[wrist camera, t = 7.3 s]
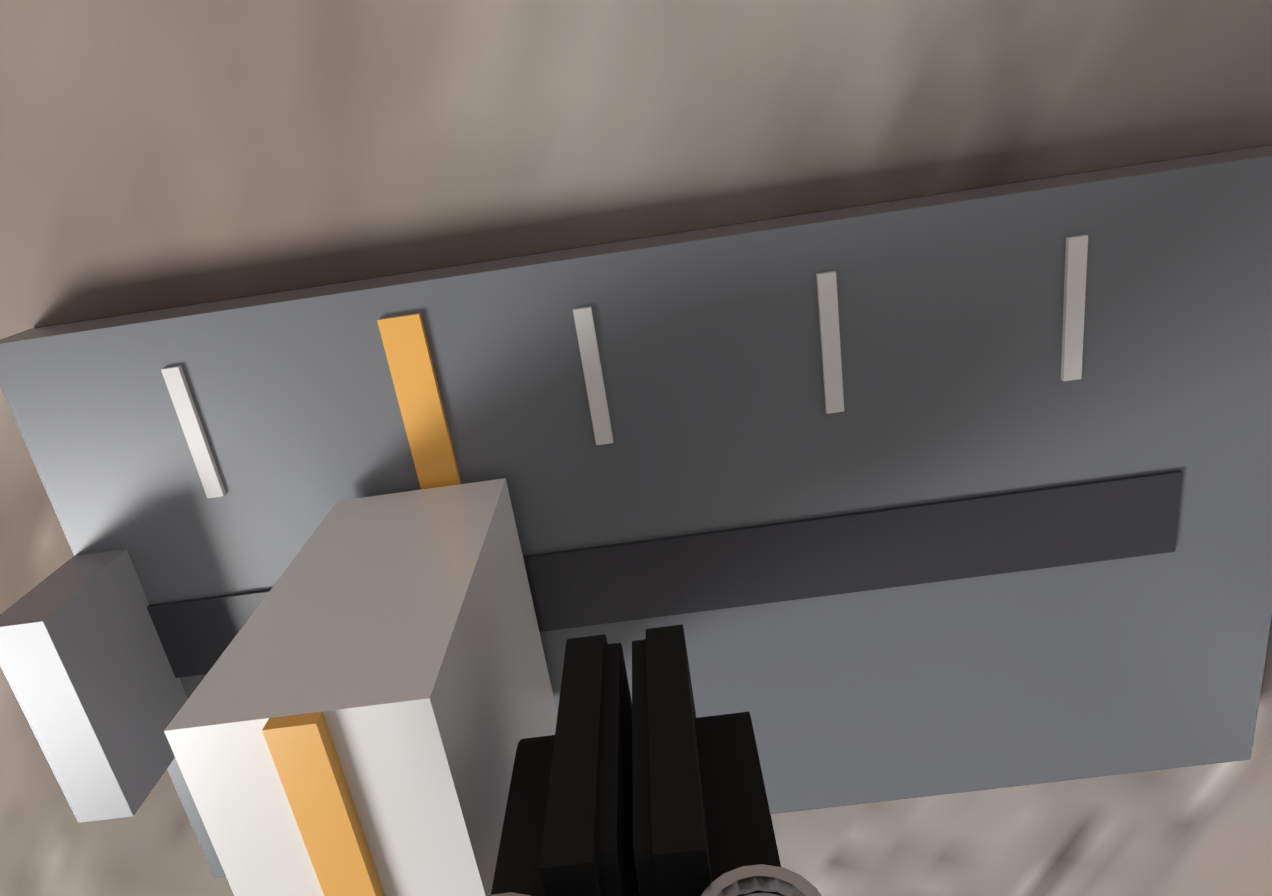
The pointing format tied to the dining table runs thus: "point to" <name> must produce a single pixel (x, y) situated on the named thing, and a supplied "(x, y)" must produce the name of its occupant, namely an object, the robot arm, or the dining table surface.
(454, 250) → the dining table surface
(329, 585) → the fader tab
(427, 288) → the console
